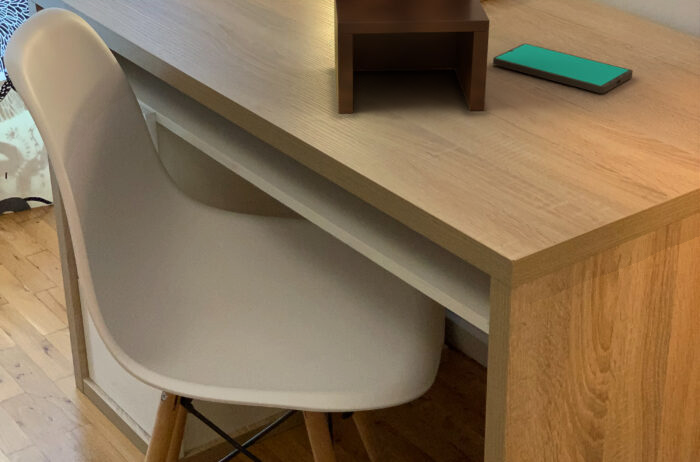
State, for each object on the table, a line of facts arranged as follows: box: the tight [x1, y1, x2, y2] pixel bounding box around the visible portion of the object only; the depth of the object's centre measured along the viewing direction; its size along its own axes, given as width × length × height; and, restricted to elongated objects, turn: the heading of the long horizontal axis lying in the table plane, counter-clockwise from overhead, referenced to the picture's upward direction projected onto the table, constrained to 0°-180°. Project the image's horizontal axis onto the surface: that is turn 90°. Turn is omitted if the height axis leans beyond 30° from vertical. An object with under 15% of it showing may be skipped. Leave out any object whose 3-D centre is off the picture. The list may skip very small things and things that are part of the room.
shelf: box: [333, 0, 491, 114], centre depth 119 cm, size 16×14×18 cm
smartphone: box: [492, 43, 633, 94], centre depth 128 cm, size 7×1×15 cm
